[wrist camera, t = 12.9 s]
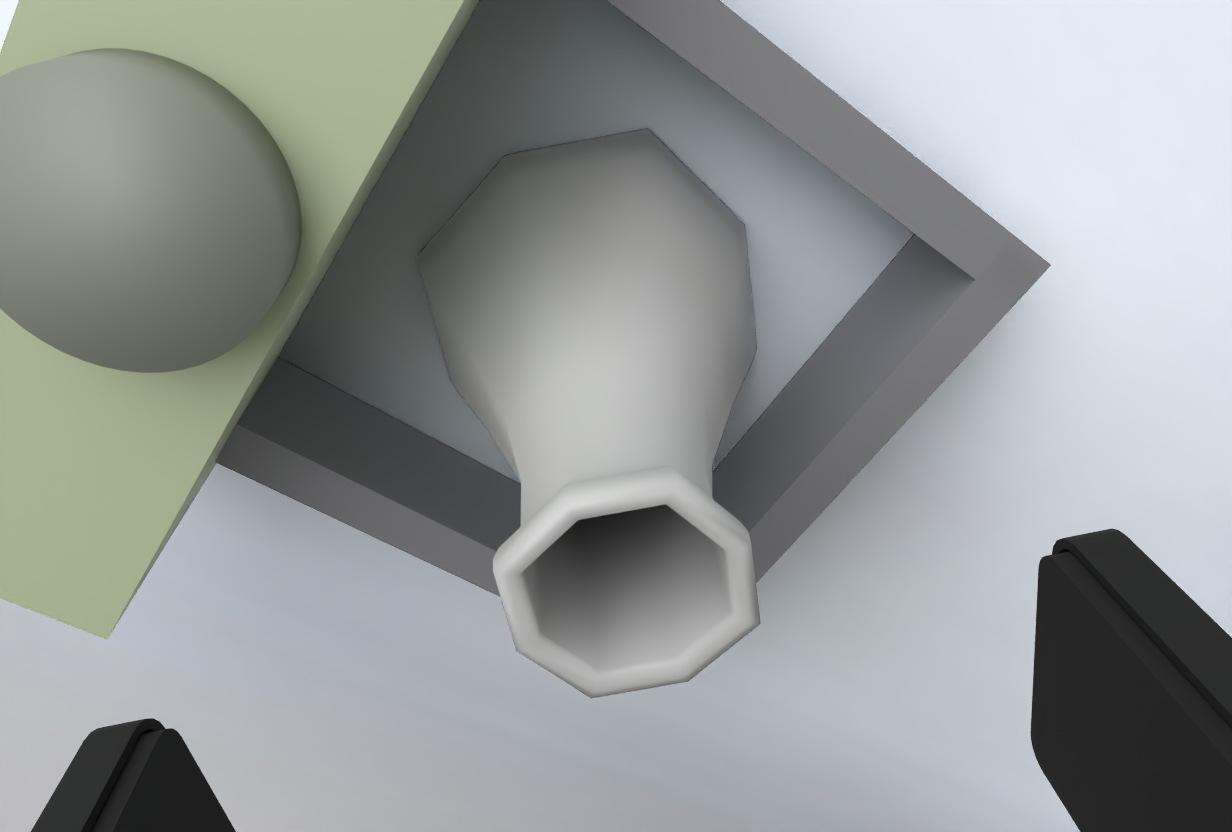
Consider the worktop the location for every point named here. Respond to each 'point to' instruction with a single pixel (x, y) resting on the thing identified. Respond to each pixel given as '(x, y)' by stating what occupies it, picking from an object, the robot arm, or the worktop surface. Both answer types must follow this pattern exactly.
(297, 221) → the grey and green box
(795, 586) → the worktop surface
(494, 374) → the flask
